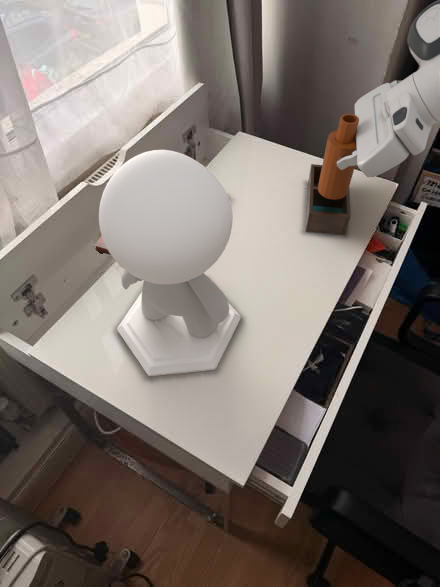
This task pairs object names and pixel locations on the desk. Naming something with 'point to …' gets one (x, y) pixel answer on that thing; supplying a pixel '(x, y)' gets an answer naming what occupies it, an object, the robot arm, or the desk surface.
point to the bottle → (338, 144)
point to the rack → (325, 208)
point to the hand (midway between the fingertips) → (338, 153)
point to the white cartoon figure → (170, 260)
